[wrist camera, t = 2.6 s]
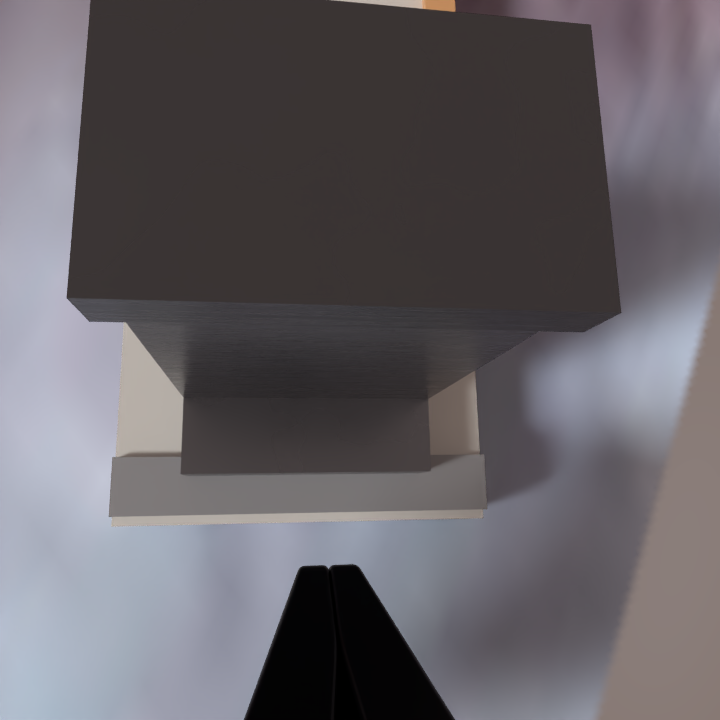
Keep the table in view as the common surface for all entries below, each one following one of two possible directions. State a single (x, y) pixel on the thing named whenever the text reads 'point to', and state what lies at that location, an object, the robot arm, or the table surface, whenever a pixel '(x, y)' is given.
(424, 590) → the table surface
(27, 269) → the table surface
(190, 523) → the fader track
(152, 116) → the fader knob
